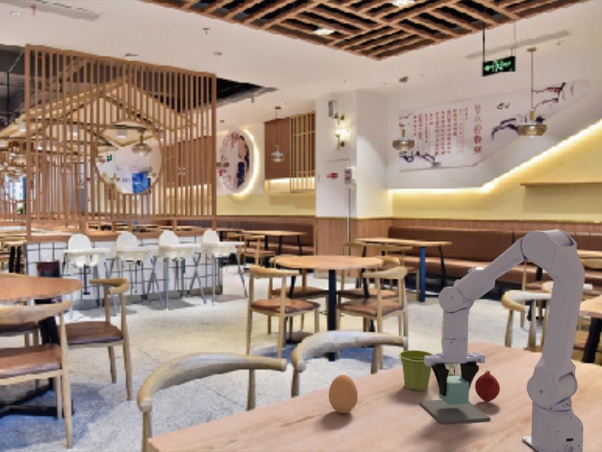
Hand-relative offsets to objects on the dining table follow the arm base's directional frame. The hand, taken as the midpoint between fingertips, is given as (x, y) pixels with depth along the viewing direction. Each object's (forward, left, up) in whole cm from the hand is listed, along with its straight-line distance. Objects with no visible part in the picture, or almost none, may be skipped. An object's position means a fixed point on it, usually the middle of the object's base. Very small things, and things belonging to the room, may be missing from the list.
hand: (453, 393), depth 124 cm
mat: (0, 0, -4) cm, 4 cm away
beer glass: (+26, -13, -4) cm, 29 cm away
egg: (+4, +26, -4) cm, 27 cm away
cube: (0, 0, -2) cm, 2 cm away
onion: (+4, -11, -4) cm, 13 cm away
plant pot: (+17, +2, -4) cm, 18 cm away
